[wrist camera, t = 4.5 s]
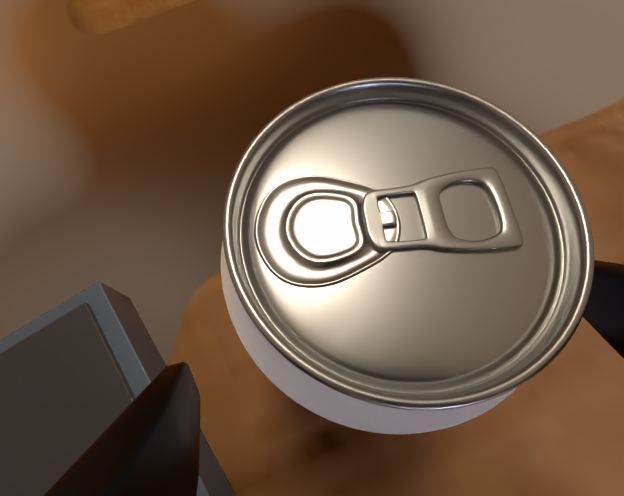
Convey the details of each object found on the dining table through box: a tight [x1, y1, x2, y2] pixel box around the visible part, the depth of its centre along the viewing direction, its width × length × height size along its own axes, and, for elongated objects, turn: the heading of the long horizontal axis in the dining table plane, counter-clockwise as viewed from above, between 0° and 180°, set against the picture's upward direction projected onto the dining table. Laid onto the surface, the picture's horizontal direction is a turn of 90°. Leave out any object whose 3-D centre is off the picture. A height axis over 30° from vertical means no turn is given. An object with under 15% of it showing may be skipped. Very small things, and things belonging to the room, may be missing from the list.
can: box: [221, 77, 594, 434], centre depth 11 cm, size 6×6×12 cm
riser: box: [0, 282, 236, 496], centre depth 13 cm, size 11×11×3 cm
